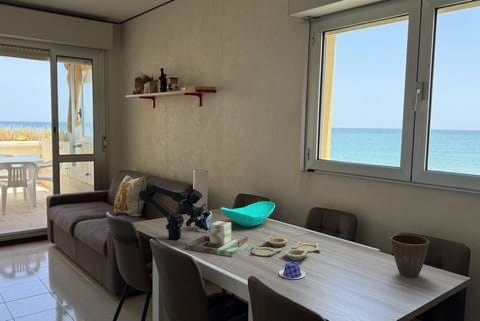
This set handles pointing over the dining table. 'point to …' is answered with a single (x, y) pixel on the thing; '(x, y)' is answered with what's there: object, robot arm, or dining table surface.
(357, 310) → the dining table surface
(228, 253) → the board
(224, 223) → the ash block
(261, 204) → the table top decor
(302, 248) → the tableware set
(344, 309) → the dining table surface
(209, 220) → the light bulb box
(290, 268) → the purple patterned hat
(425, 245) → the plant pot
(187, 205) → the robot arm
